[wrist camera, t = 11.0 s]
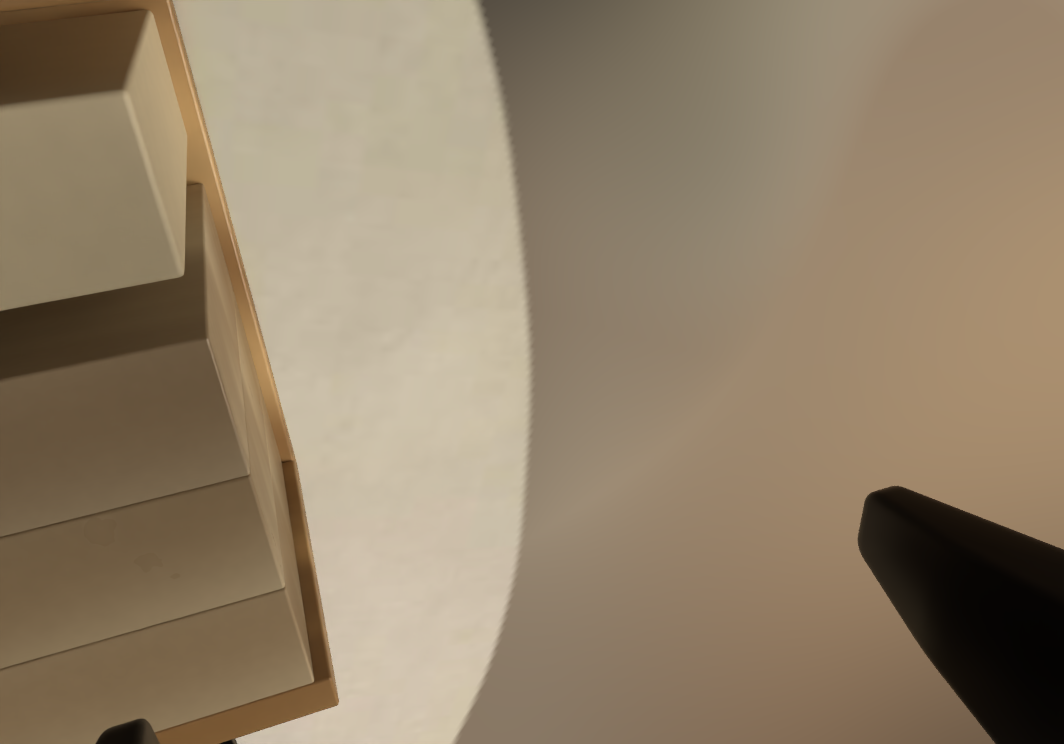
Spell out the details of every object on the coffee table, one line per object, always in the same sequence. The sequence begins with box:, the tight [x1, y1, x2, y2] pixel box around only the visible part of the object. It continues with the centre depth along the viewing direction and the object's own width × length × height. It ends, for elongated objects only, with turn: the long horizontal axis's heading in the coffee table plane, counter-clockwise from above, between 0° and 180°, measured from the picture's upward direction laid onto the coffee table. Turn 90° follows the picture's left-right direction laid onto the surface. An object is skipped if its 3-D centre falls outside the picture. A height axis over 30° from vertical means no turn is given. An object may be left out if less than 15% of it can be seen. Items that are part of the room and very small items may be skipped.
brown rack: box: [0, 0, 339, 744], centre depth 15 cm, size 13×6×8 cm, turn 4°
